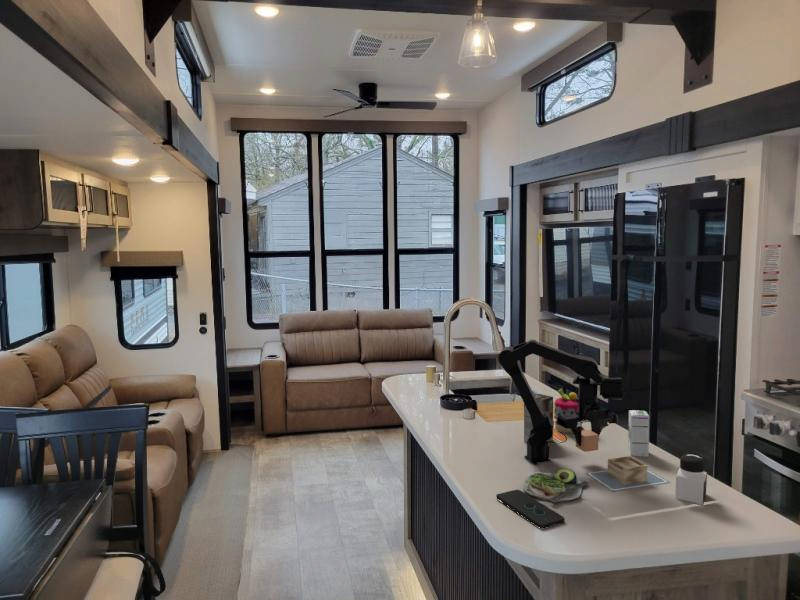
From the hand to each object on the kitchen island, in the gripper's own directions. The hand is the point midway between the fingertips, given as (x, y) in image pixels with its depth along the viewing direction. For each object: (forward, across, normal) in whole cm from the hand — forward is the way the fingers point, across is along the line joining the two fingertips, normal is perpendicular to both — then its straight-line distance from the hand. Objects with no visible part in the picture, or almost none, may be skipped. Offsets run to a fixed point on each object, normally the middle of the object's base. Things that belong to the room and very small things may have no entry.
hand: (586, 444), depth 192 cm
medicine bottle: (+7, +14, -30) cm, 34 cm away
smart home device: (+7, -32, -23) cm, 40 cm away
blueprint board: (+6, +5, -14) cm, 16 cm away
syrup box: (+7, +21, +2) cm, 22 cm away
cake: (+7, +13, +32) cm, 35 cm away
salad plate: (+7, -19, -13) cm, 24 cm away
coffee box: (+7, -4, +24) cm, 25 cm away
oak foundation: (+6, +5, -14) cm, 16 cm away
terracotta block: (+1, 0, 0) cm, 1 cm away
